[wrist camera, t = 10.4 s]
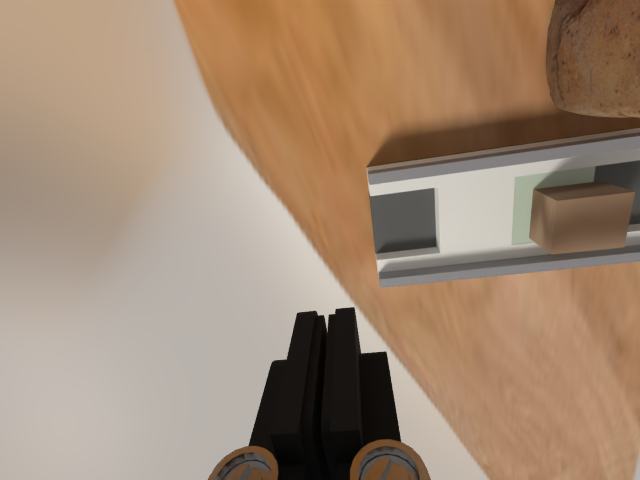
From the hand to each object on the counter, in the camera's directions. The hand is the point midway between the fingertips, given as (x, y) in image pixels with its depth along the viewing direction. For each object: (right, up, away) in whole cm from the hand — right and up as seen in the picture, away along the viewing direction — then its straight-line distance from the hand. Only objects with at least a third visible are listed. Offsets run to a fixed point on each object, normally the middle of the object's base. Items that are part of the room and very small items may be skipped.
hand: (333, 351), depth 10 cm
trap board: (+19, +7, +25) cm, 32 cm away
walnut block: (+23, +6, +23) cm, 33 cm away
